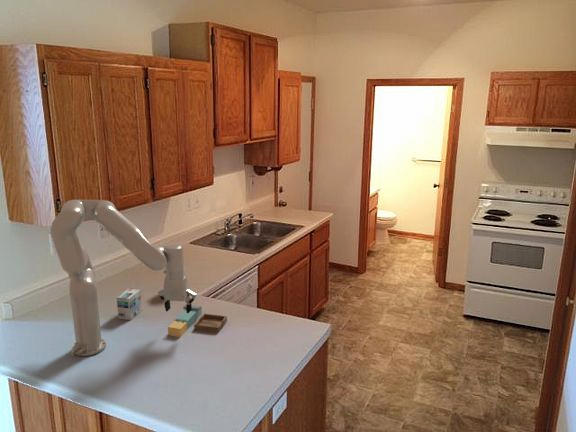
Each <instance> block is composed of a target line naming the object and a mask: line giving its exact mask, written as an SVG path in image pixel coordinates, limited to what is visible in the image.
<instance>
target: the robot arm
mask: <svg viewBox="0 0 576 432" xmlns="http://www.w3.org/2000/svg"><path fill="white" fill-rule="evenodd" d="M114 204H115V203H113V202H111V201H110V200H104V199H70V200H67V201H65V202H64V204H63V205H62V206H61V210H60V212H59V213H58V215H56V216H55V217H54V219H53V221H52V223H51V224H50V225H51V226H50V236H51V239H52V242H53V245H54V248H55V251H56V254H57V257H58V259H59V262H60V265H61V267H62V269H63V270H64V271H65V272H66V274H67V275H68V278H69V280H70V281H69V300H70V303H71V313H72V323H73V331H74V339H75V343H73V344H74V345H73V346H72V348H71V350H69V351H68V354H69V355H70V356H74V355H75V356H79V357H90V356H93V355H96V354H99V353H100V352H101V353H102V351H103V350H105V348H106V347H107V342H106V341H105V340H104V339H102V333H101V332H102V331H101V323H100V310H99V301H98V300H99V299H98V287H97V276H96V273H95V271H94V267H93V264H92V262H91V259H90V256H89V253H88V251H87V249H86V247H84V246H83V245H82V244H81V243H80V240H79V237H78V234H77V229H78V228H79V226H81V224H83V222H84V221H95V222H96V223H97V224H98V226H100V227H101V228H103V230H105V231H106V232H107V233H109V234H110V235H111V236H112V237H114V239H116V240H117V241H118V242H119V243H120V244H122V245H123V246H124V248H126V250H128V251H129V252H130V253H132V255H133V256H134V257H135V258H137V259H138V260H139V261H140V262H141V263H143V264H144V265H145V266H146V267H147V268H148V269H150V270H152V271H161V270H163V269H164V268H165V270H163V272H162V273H163V274H164V275H165V276H164V278H163V279H164V281H163V289H160V290H159V291H158V292H157V294H158V296H159V297H160V300H161V301H163V303H164V309H165V312H168V311H169V310H171V301H174V302H185V303H186V304H185V305H186V311H187V313H189V312H190V311H191V310H192V305H193V304H192V303H193V302H194V301H195V300H196V298H197V293H195V292H193V291H192V290H190V285H189V280H188V277H187V276H186V270H185V271H184V268H185V260H184V259H185V258H184V249H183V246H181V245H180V244H175V243H174V244H169V245H152V244H151V243H150V242H149V241H148V240H147V239H146V238H145V235H143V233H142V232H141V231H140V229H139V228H138V227H137V225H136V224H134V223H133V222H132V221H130V220H129V219H128V218H127V217H126V216H124V215H123V214H122V213H121V212H120V211H119V210H118V209H117V208H116V206H115V205H114Z"/></svg>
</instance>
